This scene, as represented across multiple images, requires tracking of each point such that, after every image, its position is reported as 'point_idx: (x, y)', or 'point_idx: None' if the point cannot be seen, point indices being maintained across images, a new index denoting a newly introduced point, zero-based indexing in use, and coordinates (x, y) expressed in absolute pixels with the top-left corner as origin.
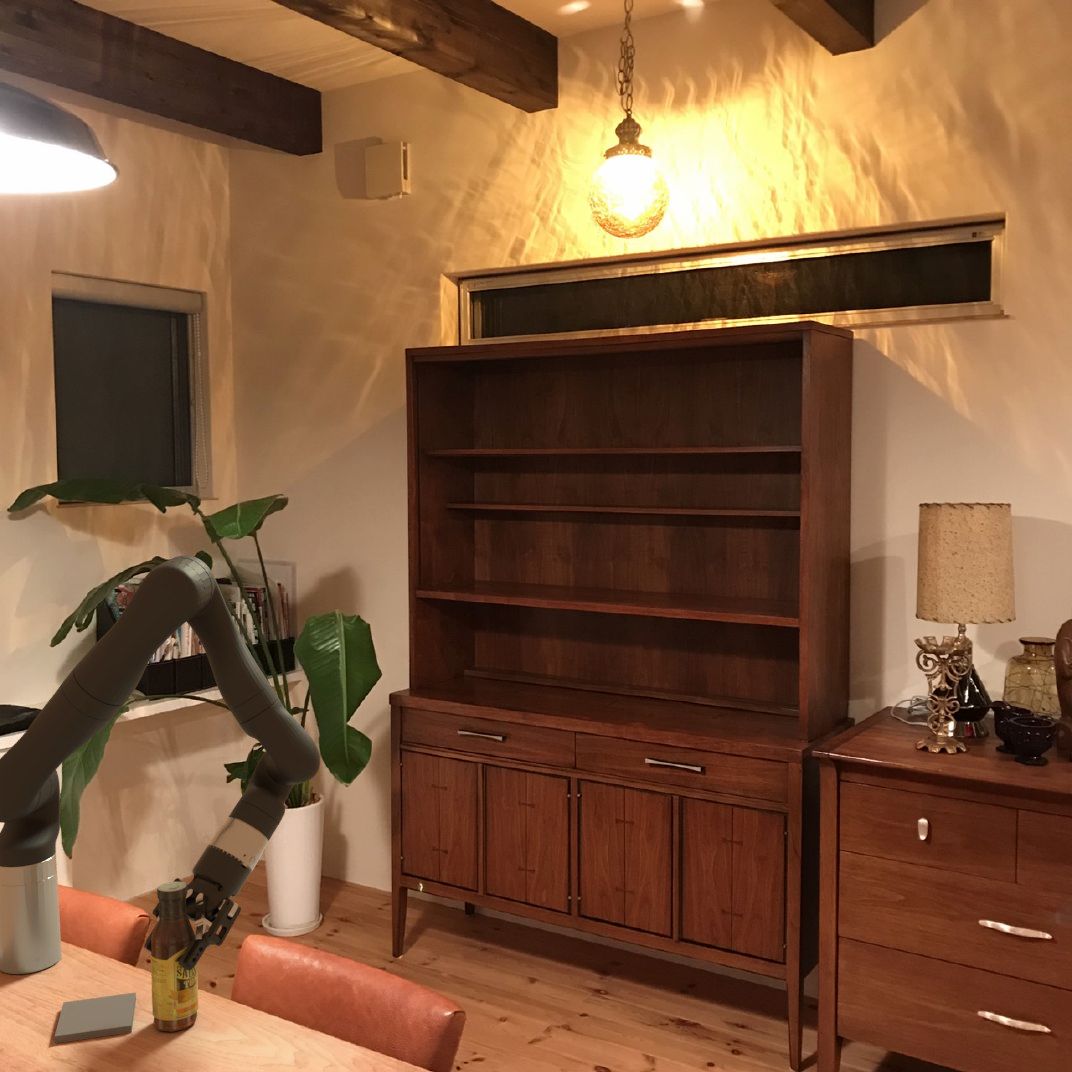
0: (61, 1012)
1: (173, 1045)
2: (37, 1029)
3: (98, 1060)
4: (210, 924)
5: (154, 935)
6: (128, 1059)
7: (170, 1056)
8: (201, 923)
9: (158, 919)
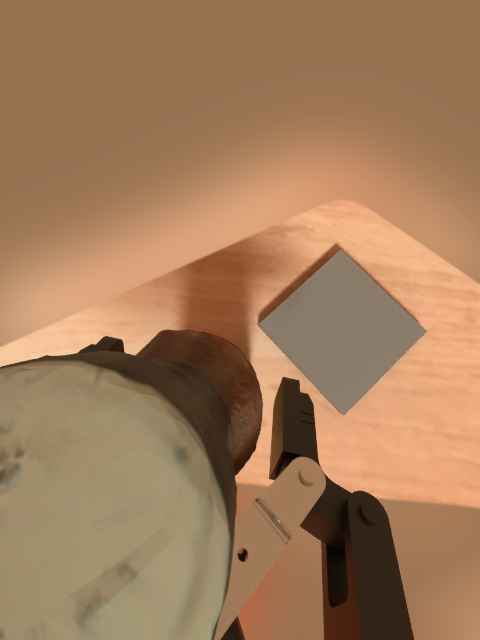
0: (398, 305)
1: (169, 324)
2: (396, 270)
3: (241, 248)
4: None
5: (210, 339)
6: (203, 268)
7: (152, 299)
8: None
9: (312, 468)
